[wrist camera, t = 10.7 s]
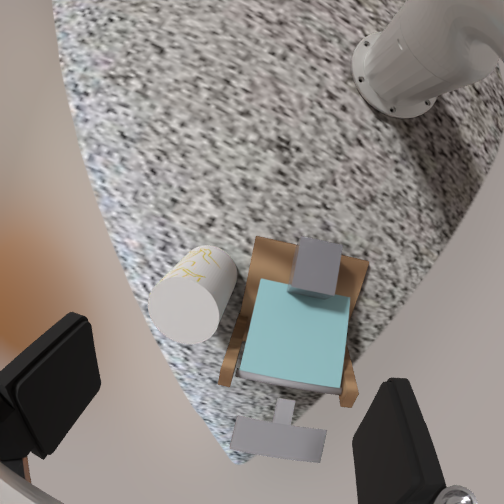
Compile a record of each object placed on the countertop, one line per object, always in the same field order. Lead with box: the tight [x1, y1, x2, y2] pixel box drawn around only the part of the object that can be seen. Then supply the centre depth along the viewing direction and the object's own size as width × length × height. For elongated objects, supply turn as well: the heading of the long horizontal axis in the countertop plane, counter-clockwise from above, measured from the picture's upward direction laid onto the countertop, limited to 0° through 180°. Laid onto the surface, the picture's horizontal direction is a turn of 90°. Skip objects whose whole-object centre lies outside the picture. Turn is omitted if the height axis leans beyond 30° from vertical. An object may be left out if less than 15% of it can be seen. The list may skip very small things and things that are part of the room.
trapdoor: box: [230, 279, 350, 463], centre depth 35 cm, size 21×13×4 cm
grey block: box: [287, 236, 343, 300], centre depth 37 cm, size 5×5×6 cm
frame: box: [218, 236, 369, 408], centre depth 37 cm, size 16×16×14 cm
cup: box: [148, 245, 237, 344], centre depth 38 cm, size 8×8×12 cm
